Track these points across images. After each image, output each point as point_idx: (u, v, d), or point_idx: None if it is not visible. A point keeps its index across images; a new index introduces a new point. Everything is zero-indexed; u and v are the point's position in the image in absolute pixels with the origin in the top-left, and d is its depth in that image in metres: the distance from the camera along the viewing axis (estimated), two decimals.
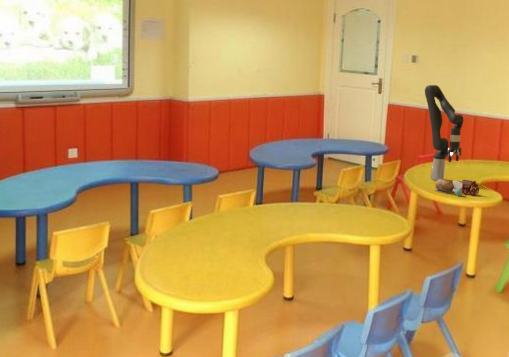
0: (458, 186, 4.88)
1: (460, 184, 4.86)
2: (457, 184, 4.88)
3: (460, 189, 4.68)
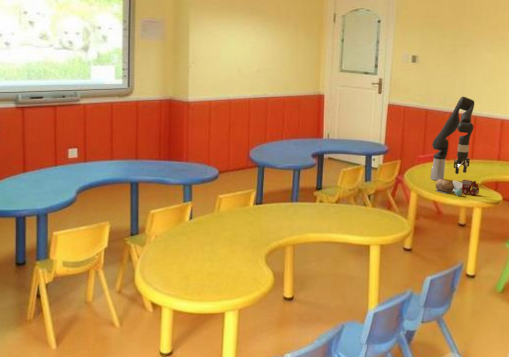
0: (458, 186, 4.88)
1: (460, 184, 4.86)
2: (457, 184, 4.88)
3: (460, 189, 4.68)
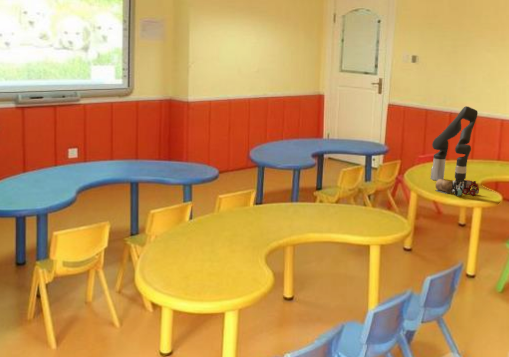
0: None
1: None
2: None
3: (460, 189, 4.68)
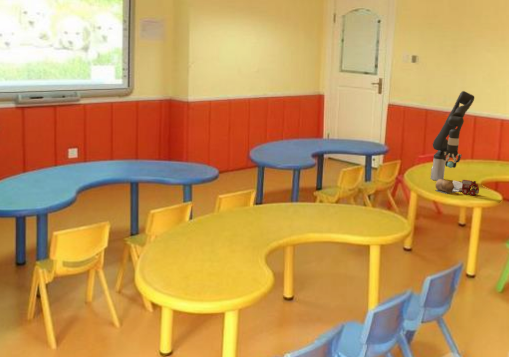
0: (458, 186, 4.88)
1: (460, 184, 4.86)
2: (457, 184, 4.88)
3: (452, 161, 4.72)
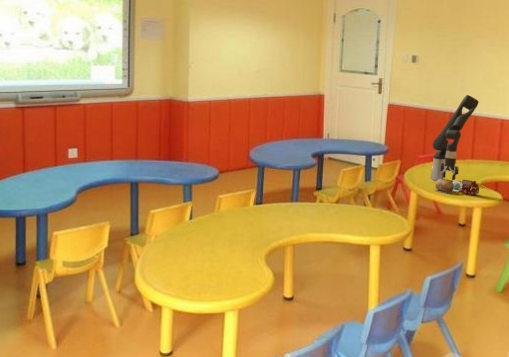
0: None
1: (460, 184, 4.86)
2: None
3: (455, 186, 4.84)
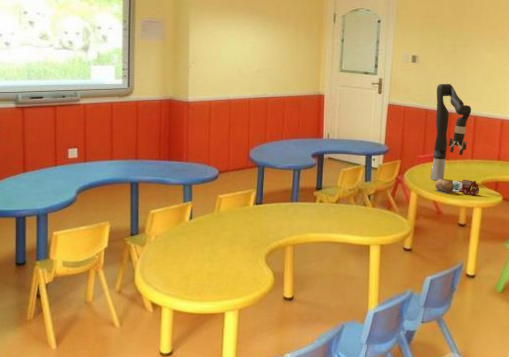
0: None
1: (460, 184, 4.86)
2: None
3: (454, 187, 4.84)
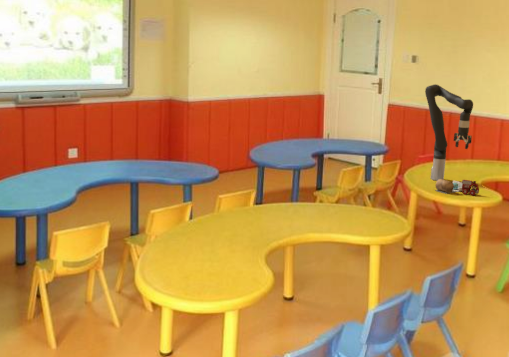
0: (458, 186, 4.88)
1: (460, 184, 4.86)
2: None
3: (454, 188, 4.84)
